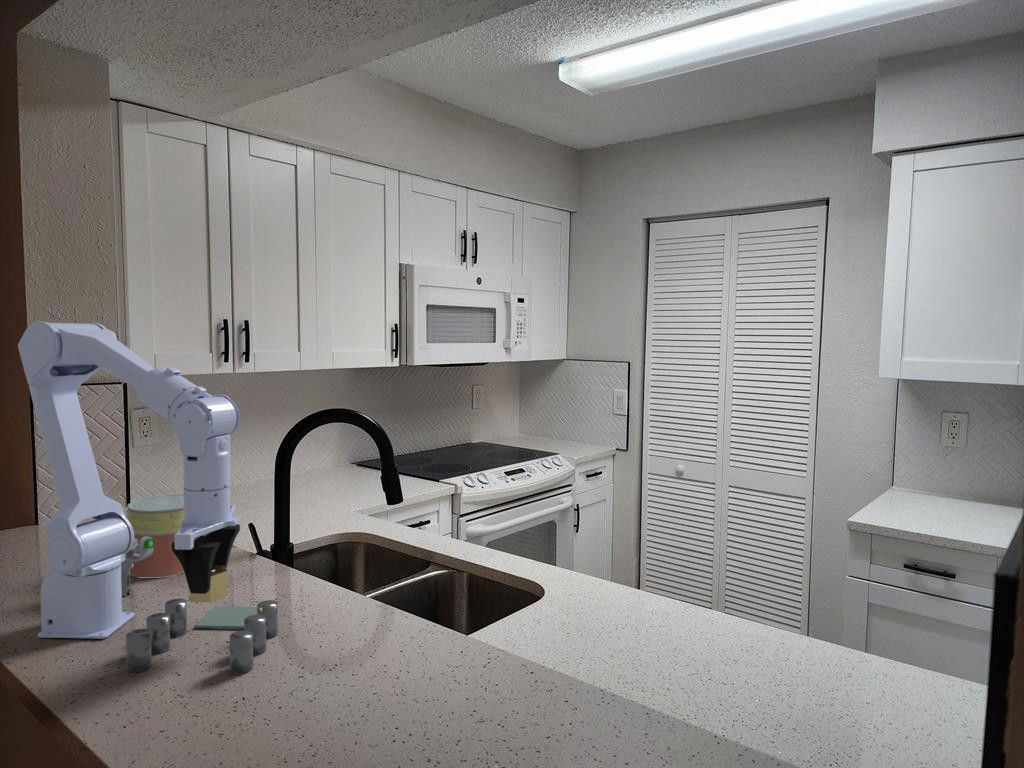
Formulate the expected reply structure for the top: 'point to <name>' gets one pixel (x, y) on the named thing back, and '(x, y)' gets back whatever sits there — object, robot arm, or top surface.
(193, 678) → the top surface
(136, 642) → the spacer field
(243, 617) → the green mat
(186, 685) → the top surface
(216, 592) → the brass nut
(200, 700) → the top surface
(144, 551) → the mechanical component
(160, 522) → the canned food
